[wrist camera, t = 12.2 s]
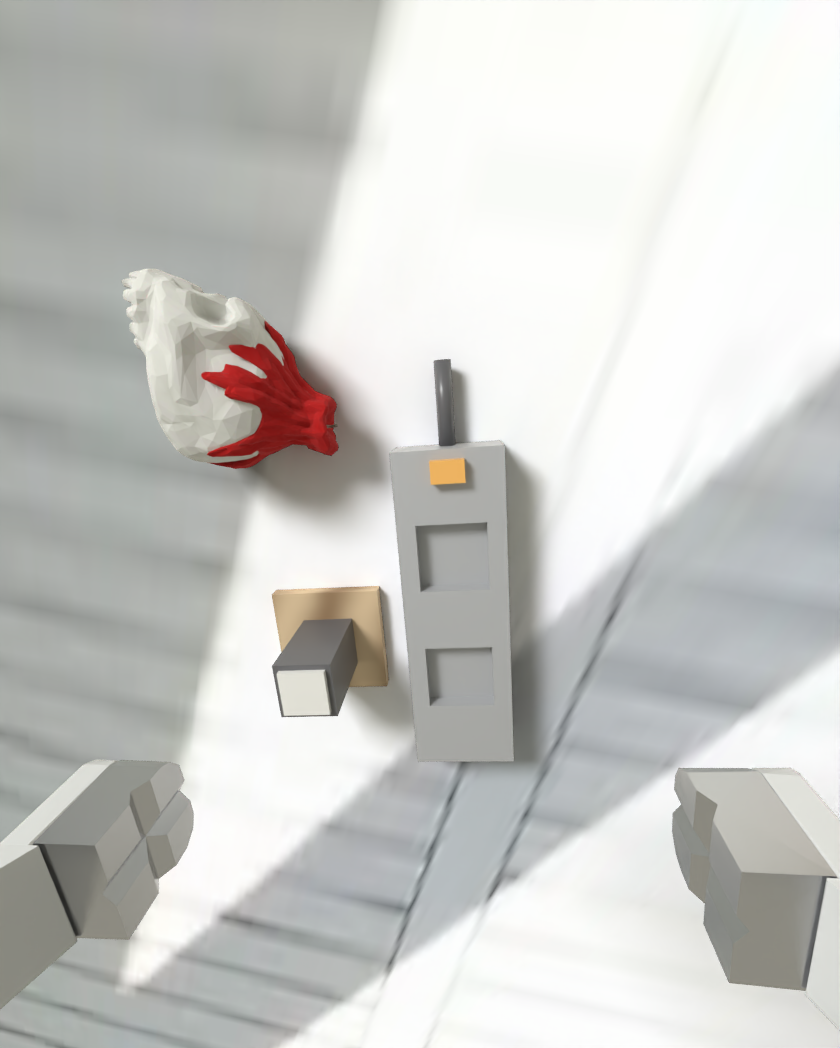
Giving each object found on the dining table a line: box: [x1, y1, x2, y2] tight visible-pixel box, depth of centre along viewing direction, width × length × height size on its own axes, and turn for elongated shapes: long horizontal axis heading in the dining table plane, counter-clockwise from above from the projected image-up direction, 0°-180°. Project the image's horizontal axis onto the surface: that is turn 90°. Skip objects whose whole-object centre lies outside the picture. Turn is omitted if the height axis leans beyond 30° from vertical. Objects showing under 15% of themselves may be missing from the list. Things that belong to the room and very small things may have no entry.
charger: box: [272, 618, 358, 717], centre depth 36 cm, size 4×4×7 cm
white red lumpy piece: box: [122, 269, 339, 469], centre depth 32 cm, size 9×11×15 cm
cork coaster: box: [272, 586, 389, 687], centre depth 40 cm, size 9×9×1 cm
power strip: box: [389, 359, 514, 762], centre depth 36 cm, size 8×32×4 cm, turn 4°
